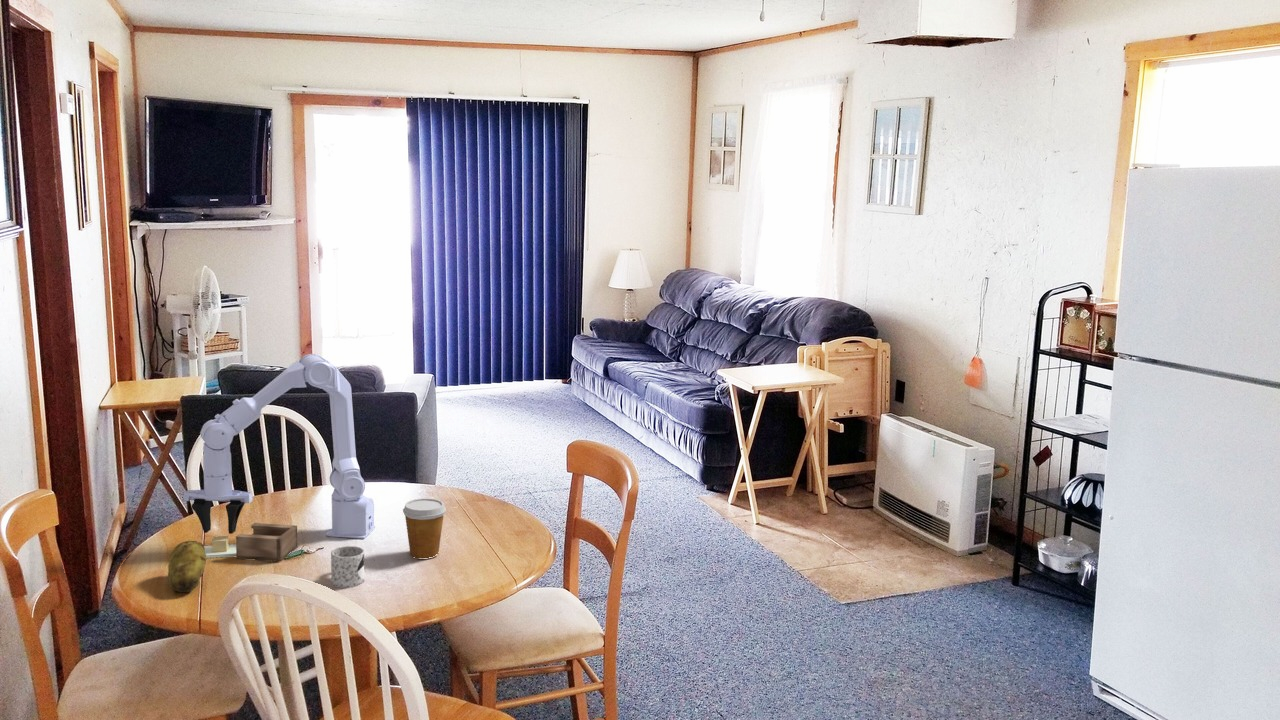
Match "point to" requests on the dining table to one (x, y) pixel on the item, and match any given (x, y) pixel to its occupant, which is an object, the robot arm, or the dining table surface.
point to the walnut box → (267, 542)
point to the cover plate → (220, 554)
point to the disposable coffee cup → (424, 526)
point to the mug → (347, 566)
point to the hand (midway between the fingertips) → (219, 531)
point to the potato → (186, 566)
